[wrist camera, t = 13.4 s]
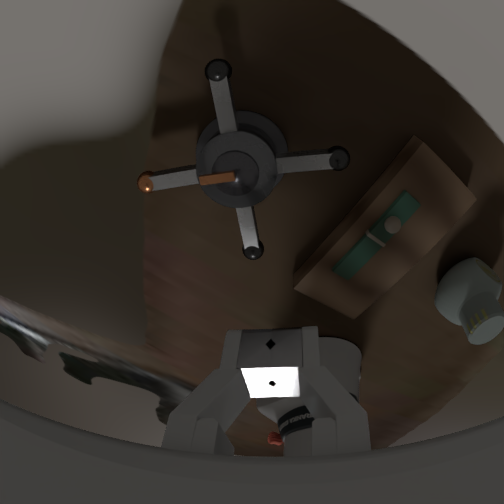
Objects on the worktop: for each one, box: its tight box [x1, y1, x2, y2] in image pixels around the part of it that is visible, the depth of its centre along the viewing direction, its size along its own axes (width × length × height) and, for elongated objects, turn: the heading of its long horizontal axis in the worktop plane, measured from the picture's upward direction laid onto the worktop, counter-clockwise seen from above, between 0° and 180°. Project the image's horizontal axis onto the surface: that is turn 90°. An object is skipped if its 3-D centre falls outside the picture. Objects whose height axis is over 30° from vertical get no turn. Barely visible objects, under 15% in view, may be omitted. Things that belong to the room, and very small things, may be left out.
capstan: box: [137, 59, 350, 260], centre depth 27 cm, size 20×20×5 cm
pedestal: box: [196, 110, 288, 187], centre depth 30 cm, size 9×9×1 cm
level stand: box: [293, 135, 477, 319], centre depth 32 cm, size 22×10×4 cm, turn 149°
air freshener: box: [435, 257, 504, 345], centre depth 33 cm, size 11×8×10 cm
